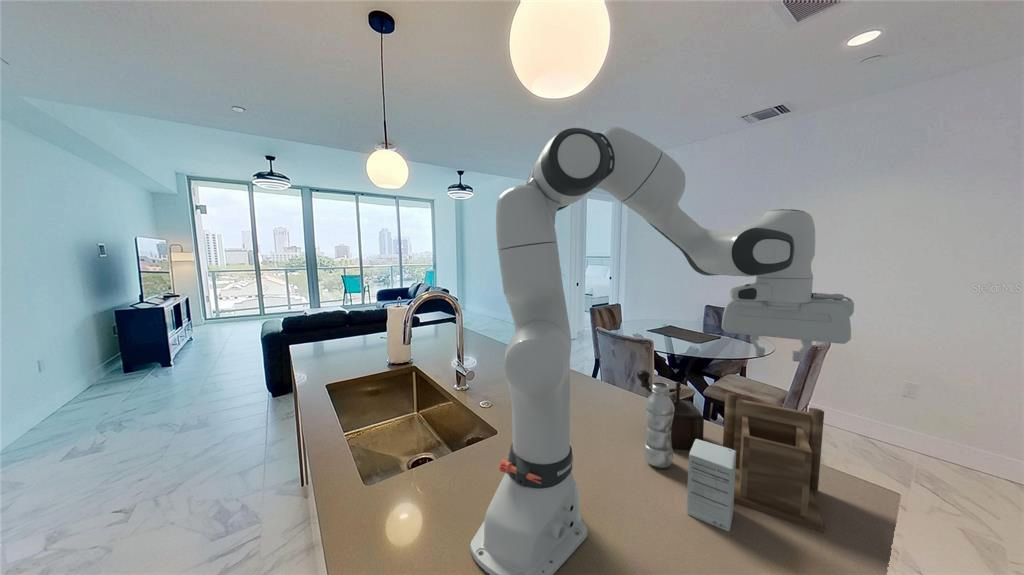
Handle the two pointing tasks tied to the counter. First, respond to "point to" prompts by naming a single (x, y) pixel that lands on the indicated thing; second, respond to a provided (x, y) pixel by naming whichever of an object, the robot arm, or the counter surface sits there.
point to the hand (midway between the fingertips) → (778, 358)
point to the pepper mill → (680, 417)
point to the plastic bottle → (659, 426)
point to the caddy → (775, 458)
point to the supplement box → (711, 483)
